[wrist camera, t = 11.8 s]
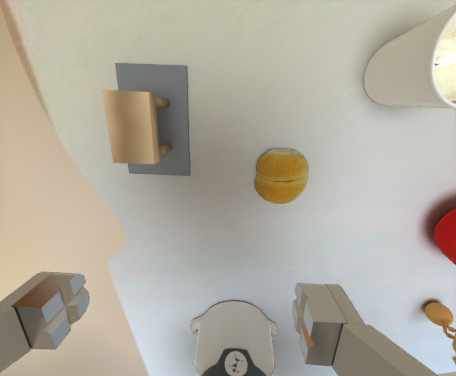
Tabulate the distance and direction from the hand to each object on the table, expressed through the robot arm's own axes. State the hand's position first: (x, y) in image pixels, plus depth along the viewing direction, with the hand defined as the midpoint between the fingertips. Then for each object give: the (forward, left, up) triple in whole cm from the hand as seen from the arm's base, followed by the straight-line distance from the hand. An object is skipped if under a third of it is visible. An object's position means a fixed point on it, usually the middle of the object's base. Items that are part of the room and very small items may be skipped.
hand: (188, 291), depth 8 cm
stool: (+4, +10, -27) cm, 29 cm away
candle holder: (+12, -24, -28) cm, 38 cm away
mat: (+4, +10, -27) cm, 30 cm away
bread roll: (-3, -9, -28) cm, 30 cm away
